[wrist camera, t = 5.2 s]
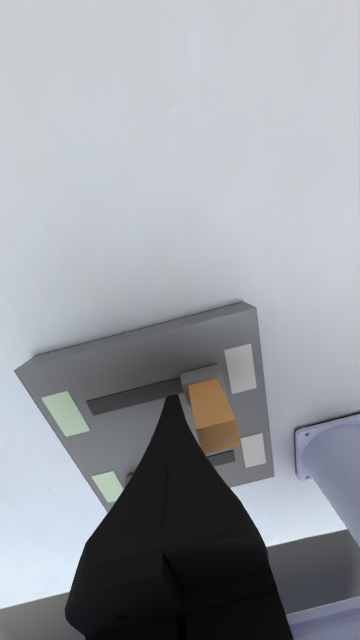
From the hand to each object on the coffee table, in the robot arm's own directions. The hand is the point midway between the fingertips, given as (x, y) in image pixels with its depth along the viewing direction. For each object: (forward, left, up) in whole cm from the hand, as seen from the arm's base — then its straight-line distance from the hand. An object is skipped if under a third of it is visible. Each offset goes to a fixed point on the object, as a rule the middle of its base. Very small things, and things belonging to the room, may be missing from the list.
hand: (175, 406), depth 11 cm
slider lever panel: (+2, +4, -4) cm, 6 cm away
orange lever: (-2, 0, -2) cm, 3 cm away
